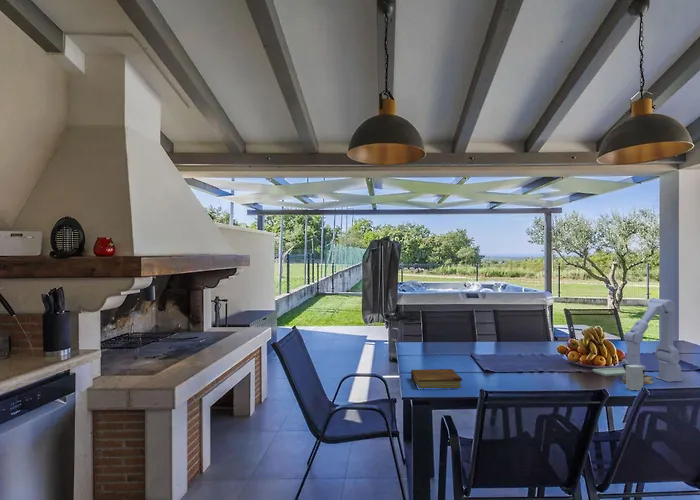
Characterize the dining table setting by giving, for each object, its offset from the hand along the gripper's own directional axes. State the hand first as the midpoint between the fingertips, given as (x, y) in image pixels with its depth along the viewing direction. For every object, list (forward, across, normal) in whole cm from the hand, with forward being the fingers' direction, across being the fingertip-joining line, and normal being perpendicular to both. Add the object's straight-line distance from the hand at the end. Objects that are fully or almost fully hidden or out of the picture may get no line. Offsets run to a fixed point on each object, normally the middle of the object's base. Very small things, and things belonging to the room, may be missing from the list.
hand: (633, 379), depth 211 cm
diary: (+2, -3, -105) cm, 105 cm away
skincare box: (+2, +11, -8) cm, 13 cm away
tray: (+1, -17, +1) cm, 17 cm away
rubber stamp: (+1, 0, +5) cm, 5 cm away
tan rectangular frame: (+1, 0, +2) cm, 3 cm away
